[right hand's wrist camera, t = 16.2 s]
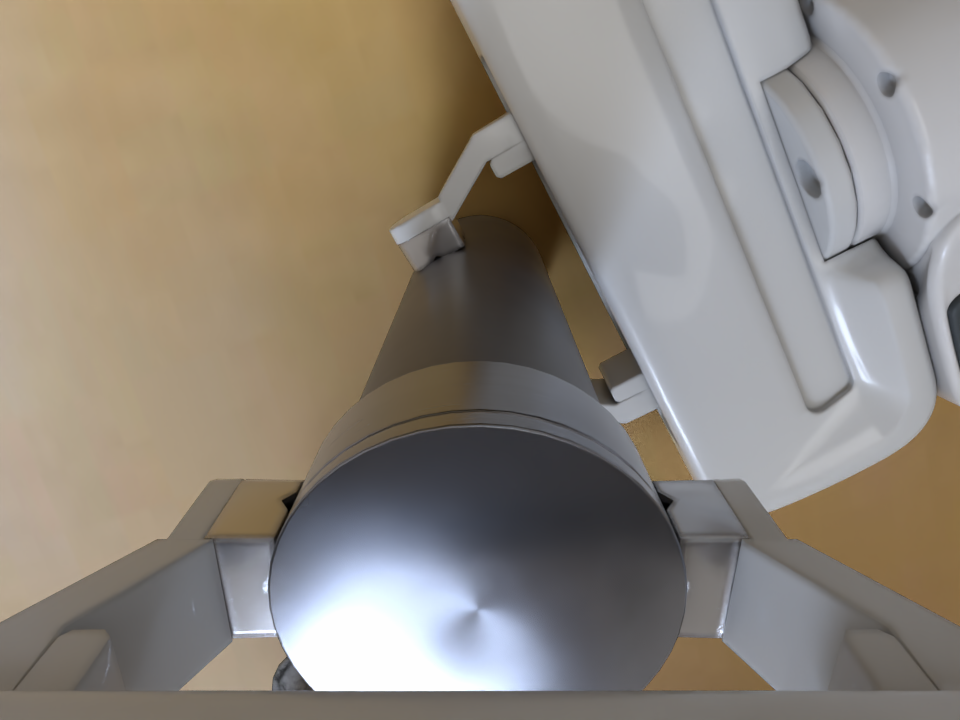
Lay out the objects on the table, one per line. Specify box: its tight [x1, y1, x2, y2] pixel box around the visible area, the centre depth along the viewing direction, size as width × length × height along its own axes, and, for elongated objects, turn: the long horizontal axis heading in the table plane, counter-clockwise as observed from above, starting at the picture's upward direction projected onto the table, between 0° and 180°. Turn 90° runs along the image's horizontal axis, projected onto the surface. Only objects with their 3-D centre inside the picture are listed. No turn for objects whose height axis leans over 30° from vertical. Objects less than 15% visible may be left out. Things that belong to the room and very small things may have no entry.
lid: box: [268, 361, 687, 691], centre depth 9 cm, size 6×6×2 cm
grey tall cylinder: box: [360, 215, 599, 402], centre depth 17 cm, size 5×5×17 cm
